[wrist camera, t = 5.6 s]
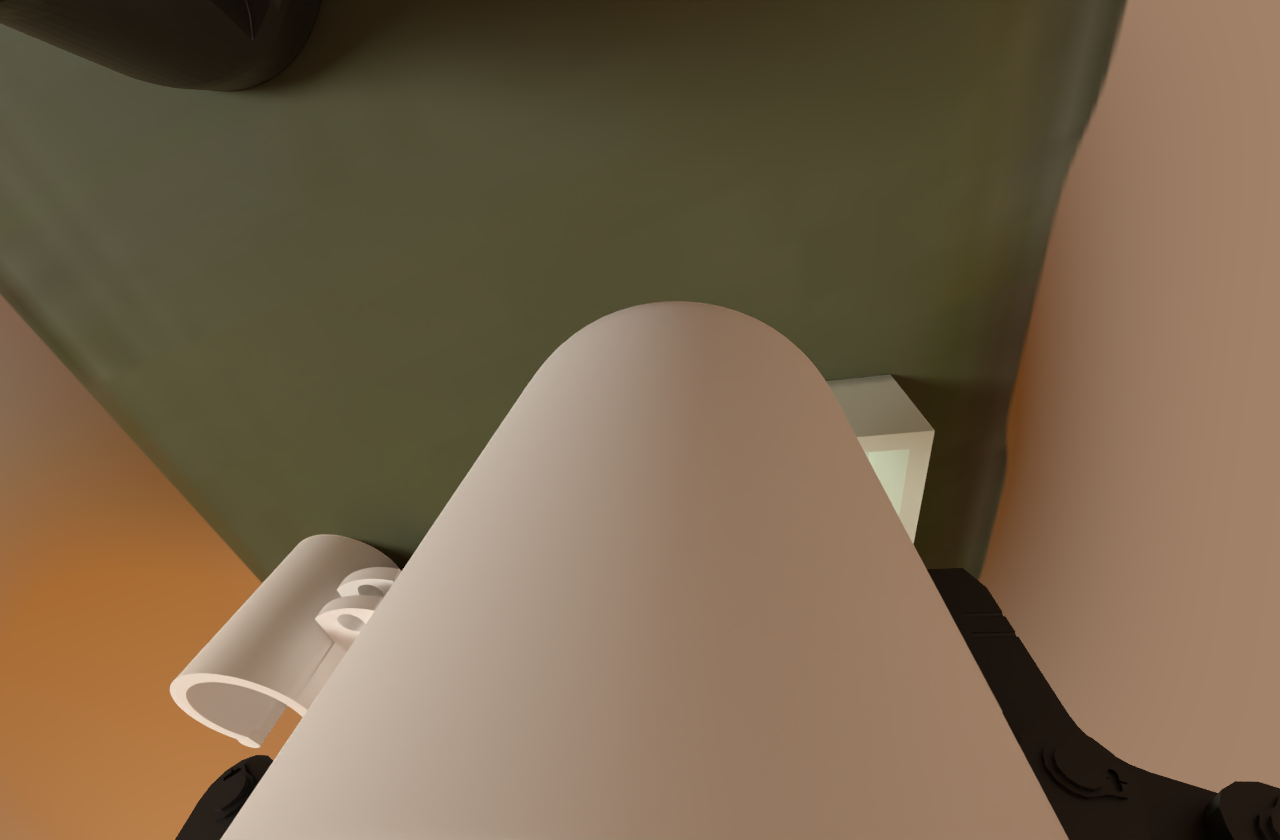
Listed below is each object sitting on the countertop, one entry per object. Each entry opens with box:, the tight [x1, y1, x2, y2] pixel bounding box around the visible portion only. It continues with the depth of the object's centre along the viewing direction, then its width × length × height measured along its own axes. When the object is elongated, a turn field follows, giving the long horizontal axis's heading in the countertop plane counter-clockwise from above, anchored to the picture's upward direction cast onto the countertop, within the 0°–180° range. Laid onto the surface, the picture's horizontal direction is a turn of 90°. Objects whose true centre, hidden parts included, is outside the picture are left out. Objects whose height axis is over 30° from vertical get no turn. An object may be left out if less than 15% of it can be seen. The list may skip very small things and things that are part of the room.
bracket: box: [170, 534, 401, 748], centre depth 36 cm, size 25×10×12 cm, turn 108°
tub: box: [826, 375, 935, 544], centre depth 32 cm, size 18×20×6 cm
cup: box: [220, 301, 1069, 840], centre depth 10 cm, size 8×12×10 cm
